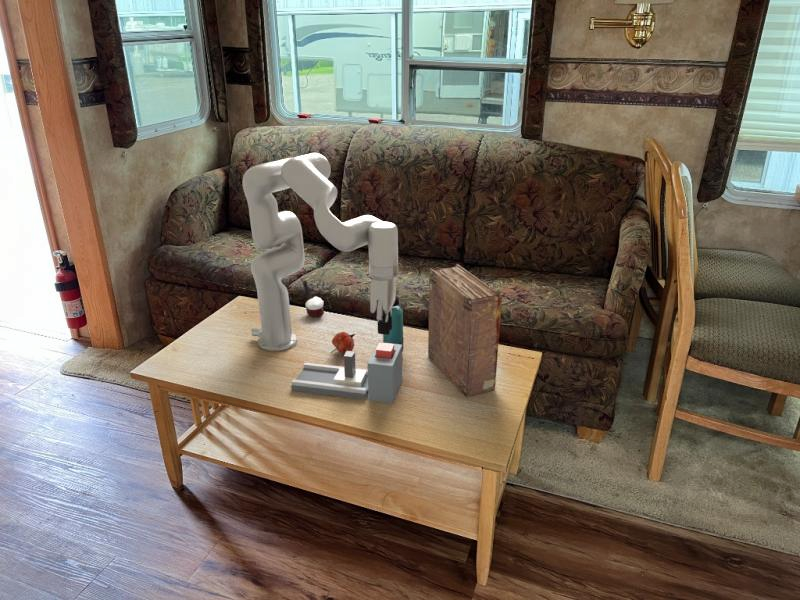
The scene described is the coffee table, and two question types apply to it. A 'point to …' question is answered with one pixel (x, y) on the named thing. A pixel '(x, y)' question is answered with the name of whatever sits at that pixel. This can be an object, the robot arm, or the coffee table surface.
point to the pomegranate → (343, 342)
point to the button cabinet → (385, 376)
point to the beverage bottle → (396, 326)
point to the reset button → (385, 350)
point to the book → (464, 329)
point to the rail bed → (326, 382)
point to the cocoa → (313, 303)
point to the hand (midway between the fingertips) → (384, 331)
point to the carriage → (350, 372)
